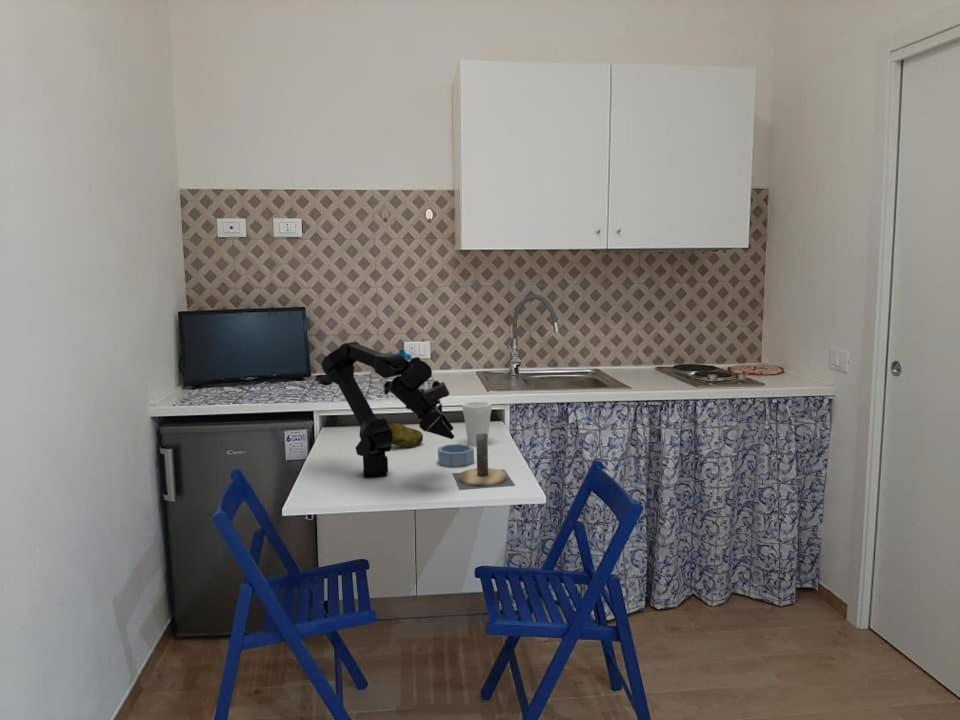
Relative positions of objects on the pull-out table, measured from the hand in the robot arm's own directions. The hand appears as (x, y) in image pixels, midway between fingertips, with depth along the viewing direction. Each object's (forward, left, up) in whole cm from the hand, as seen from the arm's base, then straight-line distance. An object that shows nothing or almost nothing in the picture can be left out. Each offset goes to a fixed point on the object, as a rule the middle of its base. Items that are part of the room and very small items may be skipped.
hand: (452, 433), depth 199 cm
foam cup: (+13, +38, -14) cm, 43 cm away
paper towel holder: (+8, -1, -13) cm, 15 cm away
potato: (-11, +40, -14) cm, 44 cm away
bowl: (+3, +17, -13) cm, 22 cm away
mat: (+8, -1, -13) cm, 16 cm away
